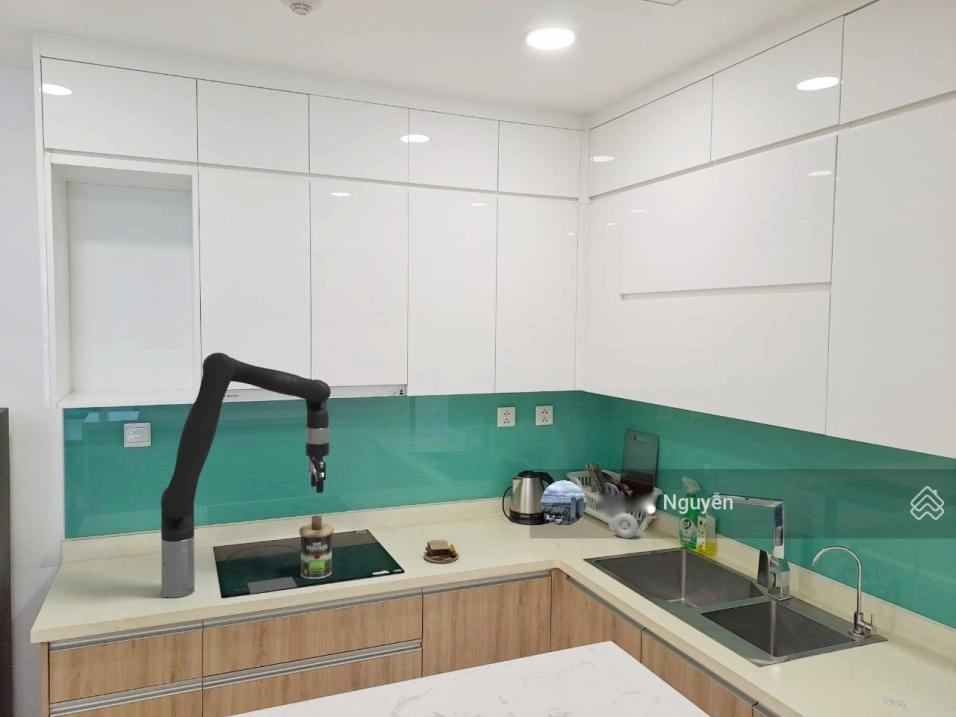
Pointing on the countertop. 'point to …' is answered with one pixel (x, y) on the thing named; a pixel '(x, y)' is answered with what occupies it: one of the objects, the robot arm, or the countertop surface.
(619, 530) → the donut
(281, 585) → the mat
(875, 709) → the countertop surface
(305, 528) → the lid
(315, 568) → the coffee can
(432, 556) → the toy sandwich meal
